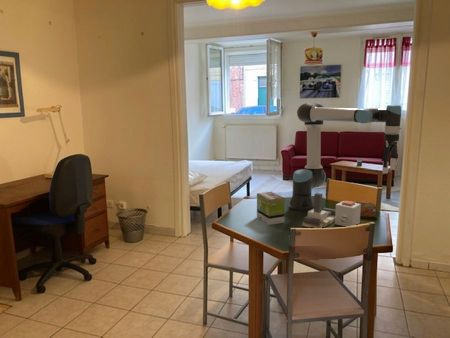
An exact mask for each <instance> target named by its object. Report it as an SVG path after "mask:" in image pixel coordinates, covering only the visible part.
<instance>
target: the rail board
mask: <svg viewBox="0 0 450 338" xmlns="http://www.w3.org/2000/svg"><path fill="white" fill-rule="evenodd" d="M335 210H336V209H335V208H334V209H333V208H327V207H322V211H327V217H326V218H324V220H322V221H321V222H320V219H316V218H311V217H308V215H307V216H304V221H302V227H306V228H310V227H314V228H322V227H324V228H325V227H327V226H329V225H331V224H333V223H335ZM314 228H313V229H314ZM322 229H323V228H322Z"/></svg>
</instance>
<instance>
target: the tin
mask: <svg viewBox="0 0 450 338" xmlns="http://www.w3.org/2000/svg"><path fill="white" fill-rule="evenodd" d="M354 202H355V203H358V204H361V211H360V217H367V218H371V217H374V216H375V215H376V214H377V212H378V208H377V206H376V205H375V203H373V202H370V201H354Z"/></svg>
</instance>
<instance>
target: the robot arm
mask: <svg viewBox="0 0 450 338" xmlns="http://www.w3.org/2000/svg"><path fill="white" fill-rule="evenodd" d="M296 114H297V118H298V119H299V121H301V122H303V123H304V126H305V127H306V164H305V166H304V169H303V168H302V169H297V170H295V171H294V172H293V175H292V196H291V198H290V201H289V204H288V205H289V206H288V207H289V208H290V209H291V210H295V211H303V212H304V211H305V212H306V211H307V212H308V211H311V210H313V209H314V201H313V197H312V191H313V190H312V189H315V188H316V189H317V188H319V187H321V186H322V185H324V183H325V182H326V179H327V175H326V172H325V171H324V167H323V166H322V163H321V159H322V157H321V150H322V149H321V148H322V146H321V144H322V143H321V142H322V141H321V140H322V139H321V137H322V136H321V135H322V134H321V133H322V132H321V130H322V129H321V128H322V126H324V121H325V122H326V121H327V122H341V123H342V122H345V123H359V124H370V123H385V124H384V125H385V126H384V133H385V134H384V137H383V139H384V141H387V142H385V143H384V149H383V153H382V157H381V160H380V161H381V162H382V170H381V171H382V174H389V173H388V172H389V170H390V171H395V170H396V167H397V166H396V164H397V162H396V161H397V159H399V157H398V156H399V155H398V142H399V141H400V130H401V129H402V128H401V119H402V106H401V105H400V104H399V105H397V104H396V105H395V104H394V105H393V104H389V105H386V108H373V107H369V108H368V107H367V108H353V107H352V108H350V107H349V108H347V107H325V106H324V105H323V104H321V103H318V102H309V103H307V102H305V103H302V104H301V105H300V106H299V107H298V108H297V111H296ZM389 159H390V163H389ZM389 164H390V165H389Z"/></svg>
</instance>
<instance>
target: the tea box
mask: <svg viewBox="0 0 450 338" xmlns="http://www.w3.org/2000/svg"><path fill="white" fill-rule="evenodd" d="M285 199H286V198H285V197H283V196H282V195H279V194H277V193H276V192H273V191H266V192H257V193H256V218H258V219H259V220H261V221H263V222H264V223H266V224H267V225H269V226H272V225H278V224H283V223H285V207H286V206H285V205H286V203H285V202H286V201H285Z"/></svg>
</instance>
